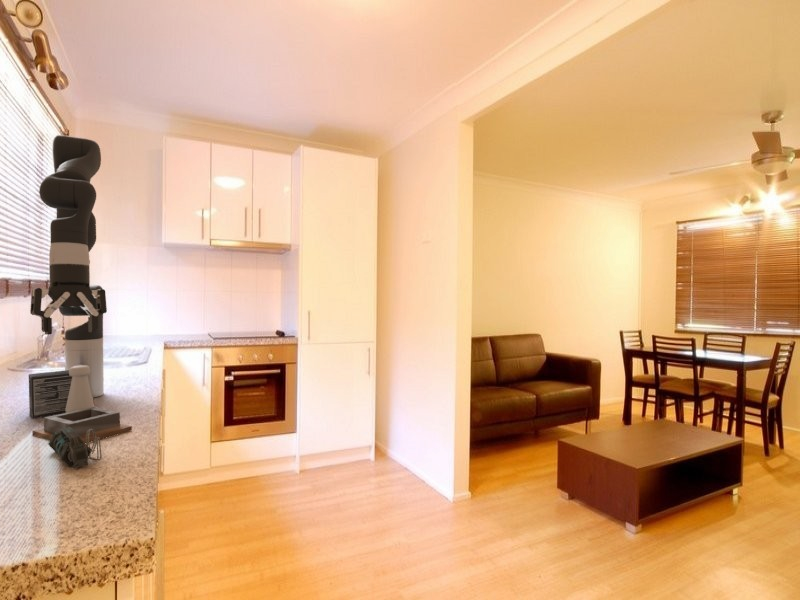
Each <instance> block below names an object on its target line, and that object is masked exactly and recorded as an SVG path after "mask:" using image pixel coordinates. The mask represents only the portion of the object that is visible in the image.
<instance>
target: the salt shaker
mask: <svg viewBox="0 0 800 600" xmlns="http://www.w3.org/2000/svg"><path fill="white" fill-rule="evenodd" d="M89 374H90V367H89V366H86V365H78V366H73V367H71V368H70V369H69V375H70V376H72V381H71V386H70V391H69V396H68V400H67V405H66V409H65V410H66V413H68V412H72V411H77V410H82V409H86V408H91V407H95V405H94V398H92V394H91V390H90V385H89V381H88V376H87V375H89Z"/></svg>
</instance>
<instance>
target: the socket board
mask: <svg viewBox="0 0 800 600" xmlns="http://www.w3.org/2000/svg"><path fill="white" fill-rule="evenodd" d="M120 414H121V413H120V411H115V410H110V409H107V408H101V407H96V406H94V407H91V408H86V409H82V410H77V411H72V412H68V413H63V414H58V415H52V416H46V417H43V427H42V428H37V429H34V430H32V436H34V437H37V438H41V439H44V440H47V439H48V440H47V441H50V440H51V438H52V436H53V434H54V433H55V432H58V431H61V429H64V428H69V427H71V428H72V429H73V430H74V431H75V432H76V433H77V434H78V435H80V437H81V439H82V440H83V441H84V443H86V434H87V431H88V430H89V429H93V430H94V431H95V434H96V437H97V438H98V437H100V440H103V438H104V439H107V438H111V437H114V435H115V436H118V435H121V433H122V434H125V433H129V432H132V431H133V430H132V429H133V427H132V425H128V424H122V423H121V415H120ZM93 430H92V431H93ZM131 430H132V431H131ZM92 431H90V433H89V431H88V433H89V442H90V443H92V442H91V441H93V434H92ZM94 431H93V433H94ZM128 431H129V432H128ZM95 434H94V440H95ZM117 434H118V435H117ZM106 437H107V438H106ZM96 440H97V439H96ZM98 441H99V439H98ZM87 443H88V434H87Z"/></svg>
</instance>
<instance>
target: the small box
mask: <svg viewBox="0 0 800 600" xmlns="http://www.w3.org/2000/svg"><path fill="white" fill-rule="evenodd" d="M71 381H72V376H70V375H69V370H65V369H64V370H58V371H57V370H56V371H47V372H39V373H38V372H37V373H29V374H28V398H29V399H28V400H29V401H28V402H29V416H30V418H31V419H32V420H33V419H38V418H45V417H49V416H51V415H52V416H54V415H57V414H58V415H59V414H63V413H66V410H65V409H66V405H67V400H68V396H69V391H70V386H71Z"/></svg>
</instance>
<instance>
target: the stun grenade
mask: <svg viewBox="0 0 800 600" xmlns="http://www.w3.org/2000/svg"><path fill="white" fill-rule="evenodd" d="M92 430H93V429H89V430H88V431H89V433H90V431H92ZM88 431H87V434H88V443H87V434H86V444H85V443H84V441H83V440H82V439H81V437H80V435H78V434H77V433H76V432H75V431H74V430H73V429H72V428H71V427H69V428H64V429H61V431H58V432H55V433H54V434H53V436H52V438H51V440H48V441H49V442H48V444H47V445H48V446H49V447H50V448H51V449H52V450H53V451H54V452H55V453H56V454H58V455H59V456H58V457H59V459H60V460H61V461H62V462H63V463H64V464H65V465H66V466H67V467H69V468H70V467H73V469H79V468H81V467H85V466H88V465H89V462H88V461H89V460H92V461H100V460H101V459H102V448H101V446H102V445H101V439H100V437H98V438H97V437H96V434H95V431H94V430H93V431H94V433H93V431H92V434H93V442H92V446H91V445H90V443H89V433H88ZM94 434H95V440H94ZM96 439H97V441H96ZM98 439H99V440H98ZM95 451H96V453H97V458H96V457H92V454H93V455H94V453H95Z"/></svg>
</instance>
